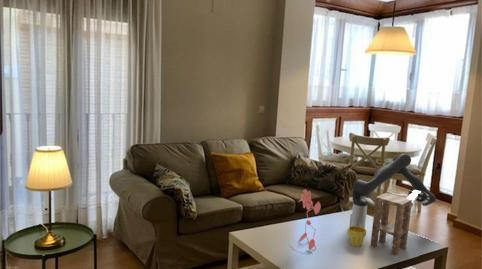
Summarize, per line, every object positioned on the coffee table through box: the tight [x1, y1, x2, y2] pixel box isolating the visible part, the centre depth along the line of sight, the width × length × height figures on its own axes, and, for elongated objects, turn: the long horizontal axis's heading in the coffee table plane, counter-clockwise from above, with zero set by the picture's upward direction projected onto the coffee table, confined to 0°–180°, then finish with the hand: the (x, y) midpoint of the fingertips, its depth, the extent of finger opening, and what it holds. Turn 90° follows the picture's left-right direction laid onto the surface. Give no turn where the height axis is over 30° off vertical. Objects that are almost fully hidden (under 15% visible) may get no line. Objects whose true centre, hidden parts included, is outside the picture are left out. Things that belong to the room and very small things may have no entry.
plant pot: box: [347, 226, 367, 247], centre depth 237 cm, size 10×10×10 cm
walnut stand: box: [369, 192, 413, 256], centre depth 233 cm, size 16×14×31 cm
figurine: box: [298, 189, 322, 255], centre depth 228 cm, size 15×26×35 cm, turn 17°
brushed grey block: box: [406, 190, 421, 207], centre depth 244 cm, size 20×6×3 cm, turn 137°
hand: (414, 193), depth 247 cm, fingers closed on brushed grey block, 3 cm apart
